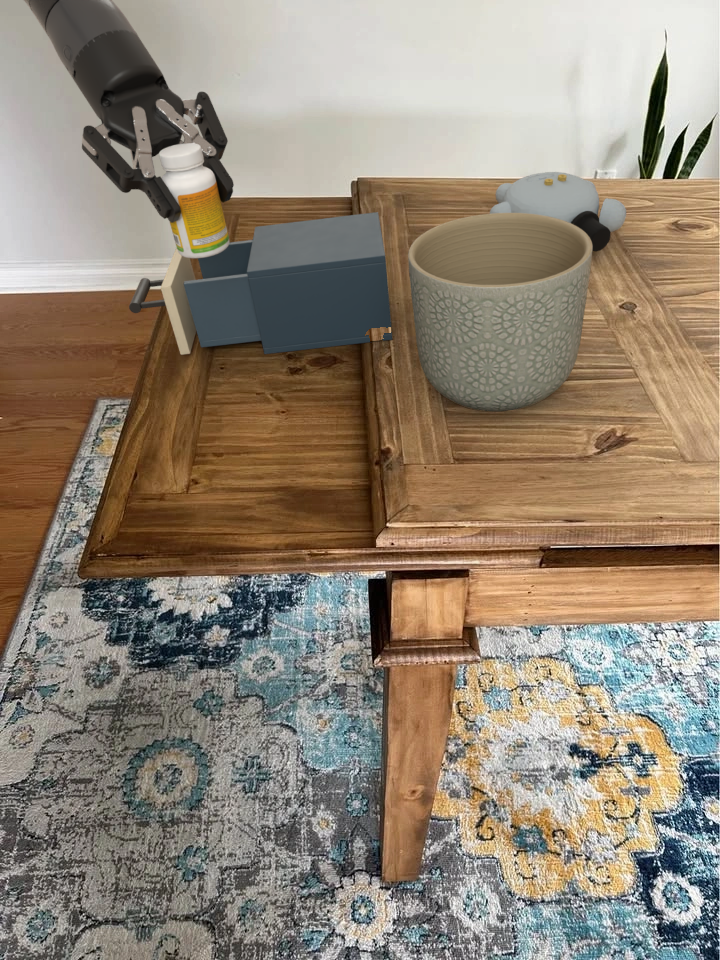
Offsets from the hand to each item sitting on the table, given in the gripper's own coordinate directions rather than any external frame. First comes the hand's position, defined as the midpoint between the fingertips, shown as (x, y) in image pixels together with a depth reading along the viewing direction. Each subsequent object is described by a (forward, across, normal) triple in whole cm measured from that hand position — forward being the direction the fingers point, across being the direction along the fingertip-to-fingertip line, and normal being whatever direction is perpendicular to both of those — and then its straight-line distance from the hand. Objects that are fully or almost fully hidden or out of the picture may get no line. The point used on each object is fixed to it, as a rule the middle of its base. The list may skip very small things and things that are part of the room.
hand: (202, 206), depth 71 cm
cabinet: (+12, -16, -17) cm, 26 cm away
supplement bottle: (+2, 0, -5) cm, 5 cm away
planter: (+30, -17, +2) cm, 35 cm away
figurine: (+18, -52, -11) cm, 56 cm away
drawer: (+5, -5, -22) cm, 24 cm away
